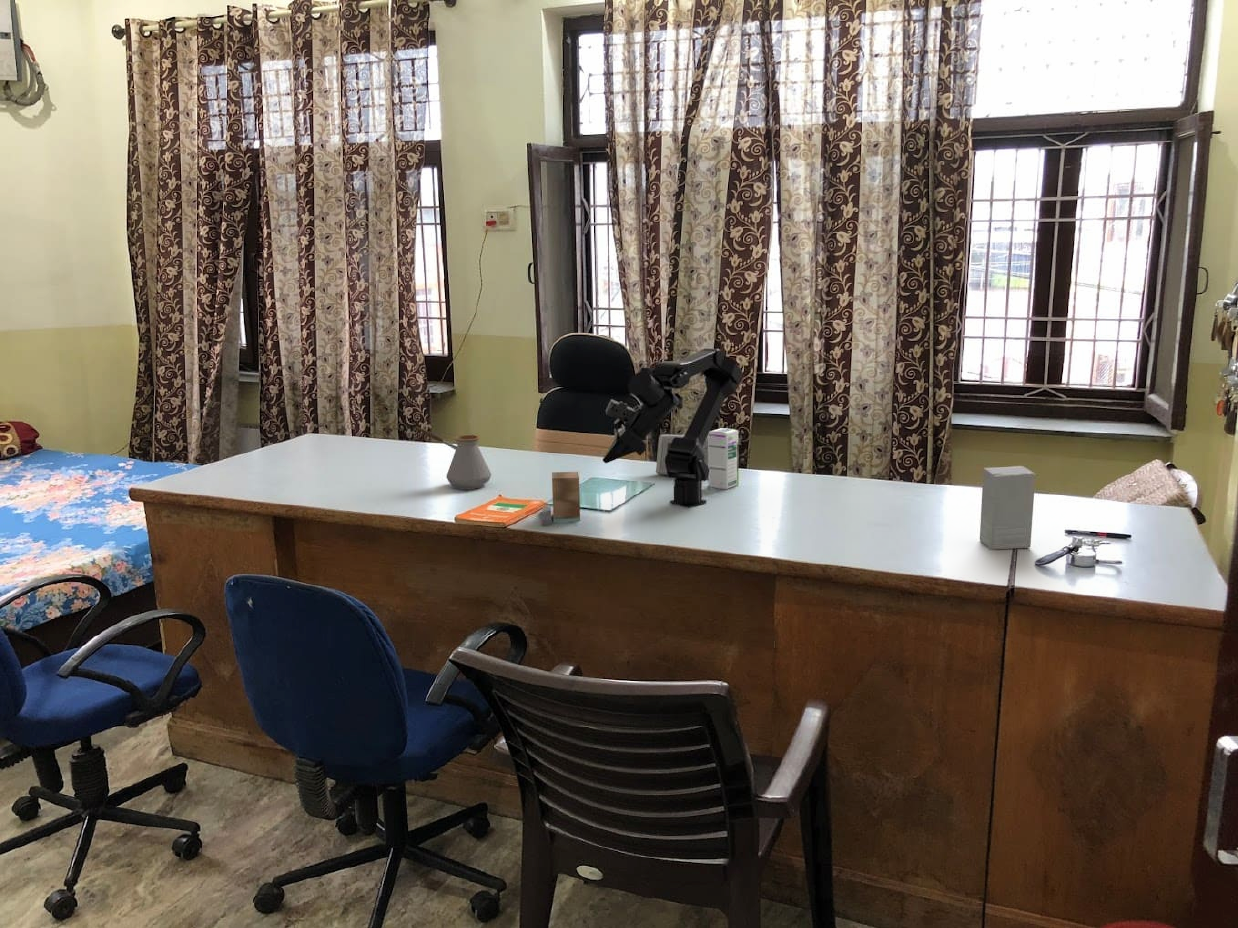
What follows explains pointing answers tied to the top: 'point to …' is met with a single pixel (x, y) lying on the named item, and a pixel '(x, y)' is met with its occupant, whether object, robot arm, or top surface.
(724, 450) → the syrup box
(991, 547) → the skincare box
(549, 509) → the grey thin bar
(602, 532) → the top surface
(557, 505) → the walnut block
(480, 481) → the coffee pot
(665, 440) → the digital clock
